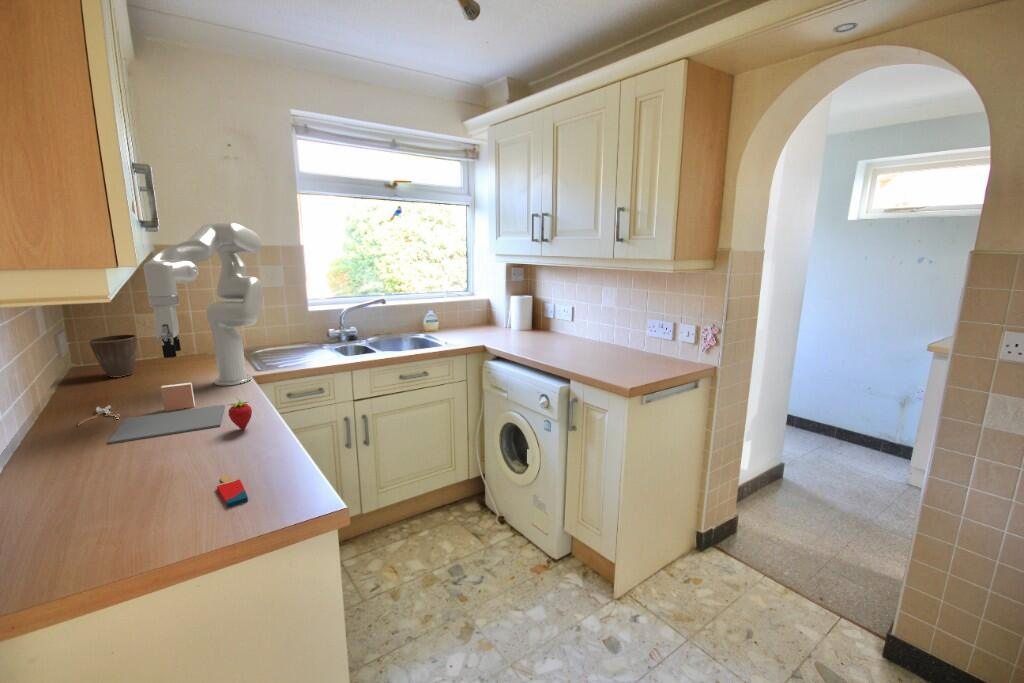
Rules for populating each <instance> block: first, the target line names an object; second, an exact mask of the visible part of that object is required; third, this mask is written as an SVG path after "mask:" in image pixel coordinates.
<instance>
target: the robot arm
mask: <svg viewBox="0 0 1024 683" xmlns="http://www.w3.org/2000/svg"><path fill="white" fill-rule="evenodd" d="M261 248H262V240H261V238H260V236H259V234H257V233H256V232H255V231H254V230H251V229H249V228H248V227H246V226H243V225H241V224H239V223H236V222H208V223H206V224H203V225H202V226H201V227H200V228H199V229H198V230H197V231H196V232H195V233H193V234H192V236H190V237H189V238H188V239H187V240H185V241H182V242H180V243H177V244H174V245H171V246H169V247H167V248H165V249H163V250H161V251H159V252H157V254H155V255H154V256H153V257H152V258H151V259H150V260H149V261H147V262H145V263H144V264H143V272H144V279H145V280H144V281H145V284H146V290H147V291H146V292H147V295H148V296H147V297H148V303H149V307H150V308H153V318H154V327H155V335H156V336H155V337H156V339H158V340H160V339H161V348H162V354H163V358H164V359H169V358H176V357H177V352H180V351H181V350H182V349H181V343H180V338H179V333H180V327H179V319H178V313H177V308H176V307H178V306H180V301H179V300H180V299H179V294H178V287H177V284H190V283H193V282H194V281H195V280H196V279H197V278H198V277H199V274H200V272H199V268H198V266H197V265H196V264H198V263H202V262H205V261H207V260H210V259H211V257H212V256H214V254H215V253H217V255H218V257H219V259H220V263H221V268H220V274H219V278H218V282H217V286H216V293H217V296H218V298H219V299H221V300H224V301H215V302H213V303H210V304H209V305H208V306H207V308H206V311H205V313H206V318H207V321H208V324H209V327H210V330H211V334H212V340H213V346H214V353H215V359H216V368H217V375H218V377H217V378H216V379H214V384H215V385H217V386H222V387H223V386H235V385H241V384H245V383H248V382H250V381H251V380H252V375H250V374H247V366H246V360H245V351H244V344H243V343H244V342H243V336H242V334H241V332H240V331H239V329H237V327H252V326H254V325H255V324H256V323H257V322H258V320H259V316H260V311H261V308H262V307H261V306H262V301H263V295H264V294H263V293H264V287H263V284H262V280H260V279H259V278H257V277H256V276H251V275H249V276H248V275H246V274H247V266H246V264H245V262H244V261H243V260H242V259H241V258H240V257H239V255H238V254H256V253H258V252H259V251H260V250H261ZM249 380H250V381H249ZM247 381H248V382H247ZM244 382H245V383H244ZM240 383H241V384H240Z"/></svg>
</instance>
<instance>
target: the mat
mask: <svg viewBox="0 0 1024 683" xmlns="http://www.w3.org/2000/svg"><path fill="white" fill-rule="evenodd" d="M225 408H226V405H225V404H219V405H212V406H204V407H199V408H188V409H181V410H173V411H166V412H162V413H155V414H154V413H152V414H148V415H147V414H145V415H140V416H132V417H127V418H125V420H124V421H123V422H122V423H121V424H120V426H119V427H118V429H117V430H115V432H114V434H113V435H112V436H111V437H110V438H109V440H108V441H107V444H108V445H110V444H109V443H112V444H116V442H118V443H122V442H124V441H125V442H129V441H130V442H131V441H136V440H142V439H148V438H149V439H150V438H155V437H161V436H168V435H169V436H170V435H173V434H175V435H176V434H180V433H181V434H182V433H187V432H188V433H189V432H191V431H193V432H194V431H200V430H207V429H212V428H219V427H221V425H222V420H223V416H224V412H225Z"/></svg>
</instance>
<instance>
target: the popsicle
mask: <svg viewBox="0 0 1024 683" xmlns="http://www.w3.org/2000/svg"><path fill="white" fill-rule="evenodd" d="M219 480H220V481H221V483H219V484H216V490H217V492H218V494H219V495H220V497H221V499H222V501H223V502H224V504H225V505H226V506H225V507H226V508H227V509H230V508H232V507H235V506H238V505H241V504H245V503H248V502H249V497H248V494H247V492H246V489H245V488H244V485H243V482H242V480H241V479H240V478H236V479H233V480H232V477H231V475H230V474H226V475H223V476H221V477H220V479H219Z"/></svg>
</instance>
